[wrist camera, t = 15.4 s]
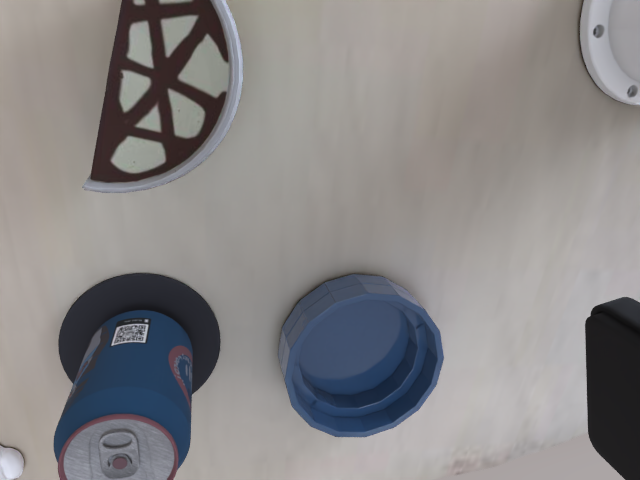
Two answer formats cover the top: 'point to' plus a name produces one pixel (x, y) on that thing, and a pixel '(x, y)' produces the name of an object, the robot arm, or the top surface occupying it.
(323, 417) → the bowl
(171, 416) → the soda can
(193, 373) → the coaster
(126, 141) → the food container
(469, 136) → the top surface
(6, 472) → the astronaut figurine
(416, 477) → the top surface
